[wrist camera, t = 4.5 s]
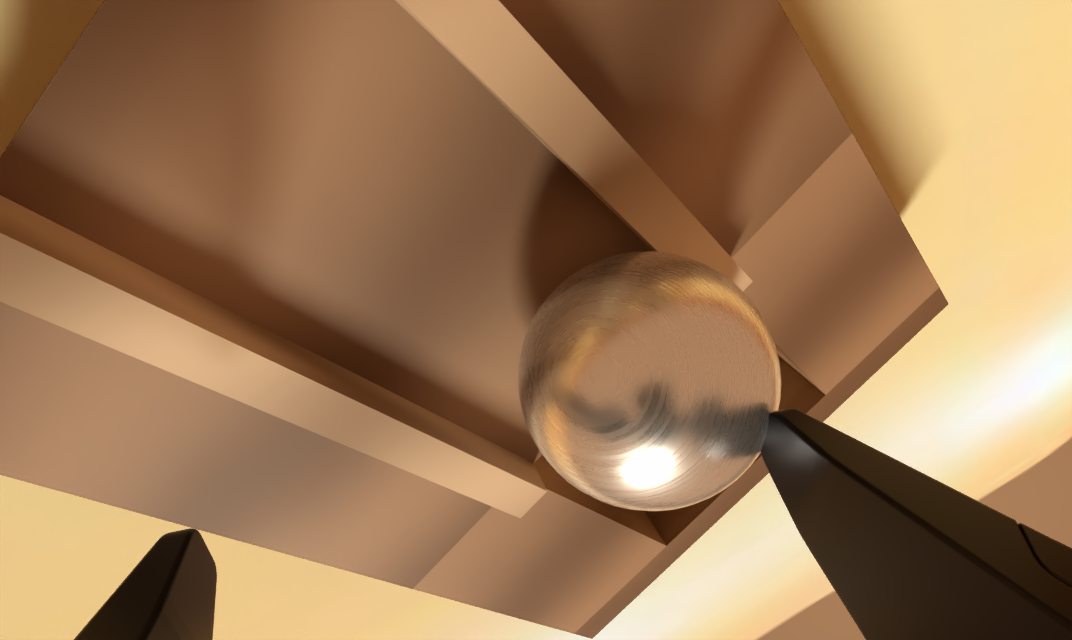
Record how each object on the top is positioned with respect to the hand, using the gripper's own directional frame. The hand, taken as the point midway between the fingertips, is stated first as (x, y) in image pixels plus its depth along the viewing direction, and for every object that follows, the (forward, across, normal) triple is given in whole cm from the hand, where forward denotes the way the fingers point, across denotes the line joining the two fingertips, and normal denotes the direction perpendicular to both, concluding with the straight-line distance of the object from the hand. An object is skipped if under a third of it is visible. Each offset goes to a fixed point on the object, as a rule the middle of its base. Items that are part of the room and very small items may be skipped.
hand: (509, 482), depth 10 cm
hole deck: (+7, -2, +1) cm, 8 cm away
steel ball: (+2, -3, 0) cm, 4 cm away
